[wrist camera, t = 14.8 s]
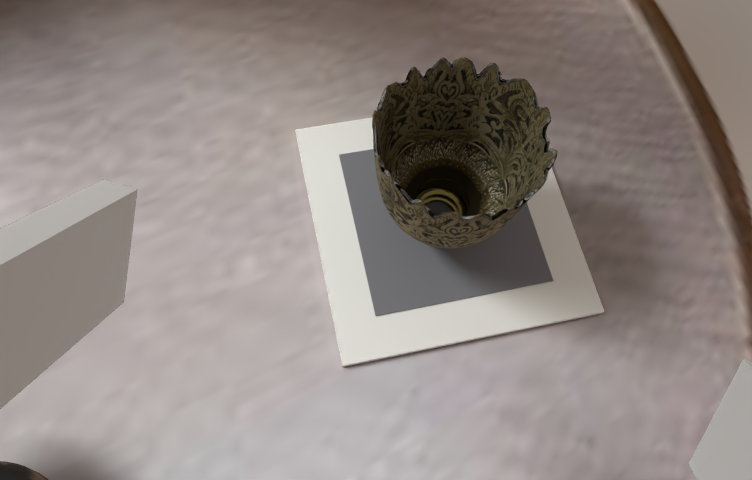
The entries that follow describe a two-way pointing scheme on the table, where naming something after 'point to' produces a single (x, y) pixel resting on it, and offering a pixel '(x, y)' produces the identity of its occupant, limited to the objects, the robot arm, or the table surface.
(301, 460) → the table surface
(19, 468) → the decorative turtle
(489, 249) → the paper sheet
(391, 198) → the cup
